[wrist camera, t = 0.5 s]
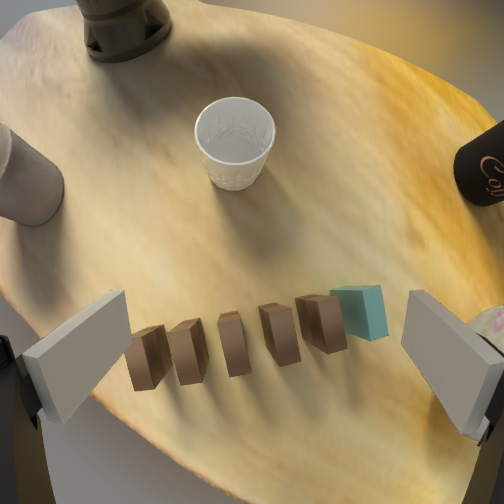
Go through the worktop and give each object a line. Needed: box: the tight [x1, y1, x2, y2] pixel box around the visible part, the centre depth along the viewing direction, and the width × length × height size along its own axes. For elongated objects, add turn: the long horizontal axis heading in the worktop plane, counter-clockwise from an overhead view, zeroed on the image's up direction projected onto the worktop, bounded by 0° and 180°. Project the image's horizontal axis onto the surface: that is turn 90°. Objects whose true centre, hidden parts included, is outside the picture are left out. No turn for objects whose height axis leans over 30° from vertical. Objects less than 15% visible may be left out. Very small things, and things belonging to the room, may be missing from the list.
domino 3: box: [217, 311, 252, 377], centre depth 31 cm, size 5×2×10 cm, turn 12°
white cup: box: [194, 97, 276, 191], centre depth 34 cm, size 8×8×10 cm
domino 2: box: [168, 318, 209, 386], centre depth 31 cm, size 5×2×10 cm, turn 12°
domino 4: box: [258, 303, 301, 367], centre depth 32 cm, size 5×2×10 cm, turn 12°
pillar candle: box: [0, 123, 64, 227], centre depth 29 cm, size 10×10×15 cm
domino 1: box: [124, 325, 173, 391], centre depth 31 cm, size 5×2×10 cm, turn 12°
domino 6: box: [330, 285, 389, 341], centre depth 33 cm, size 5×2×10 cm, turn 12°
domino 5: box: [295, 295, 348, 354], centre depth 32 cm, size 5×2×10 cm, turn 12°
